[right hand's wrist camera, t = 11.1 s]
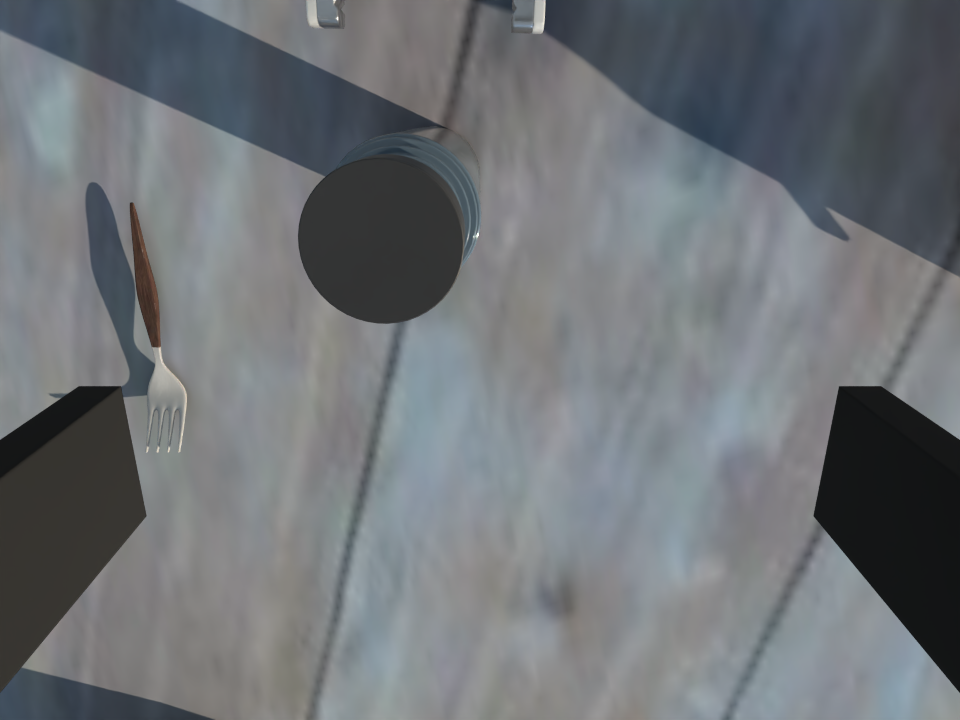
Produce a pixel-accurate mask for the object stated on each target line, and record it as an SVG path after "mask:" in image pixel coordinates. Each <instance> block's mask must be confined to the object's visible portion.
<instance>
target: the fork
mask: <svg viewBox="0 0 960 720" xmlns="http://www.w3.org/2000/svg"><path fill="white" fill-rule="evenodd" d="M130 218H131V230H132V241H133V252H134V266H135V280H136V290H137V296H138V300H139V305H140V308H141V312H142V315H143V319H144V322H145V325H146V329H147V332H148V335H149V339H150V342H151V345H152V349H153V353H154V357H155V368H154V371H153V374H152V376H151V379H150V382H149V385H148V391H147V404H148V425H147V444H146V452H148V447H149V441H150V435H151V429H152V422H153V415H154V411H155V410H157V411H158V439H157V452H158V451H159V446H160V440H161V433H162V427H163V420H164V413H165V411H166V410H168V411H169V433H168V450H167V452H169V450H170V444H171V438H172V431H173V424H174V417H175V412H176V410H179V413H180V425H179V447H178V452H180V448H181V442H182V436H183V429H184V422H185V413H186V404H187V395H186V391H185V389H184V387H183V385H182V383H181V382H180V381H179V380H178V379H177V378H176V376H175V375H174V374H173V373H172V372H171V371H170V370H169V369H168V368H167V367H166V366H165V364H164V363H163V360H162V356H161V343H160V317H159V303H158V295H157V290H156V285H155V281H154V277H153V274H152V270H151V267H150V263H149V260H148V256H147V252H146V249H145V244H144V240H143V236H142V232H141V228H140V224H139V220H138V216H137V212H136V209H135V206H134V203H130Z"/></svg>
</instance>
